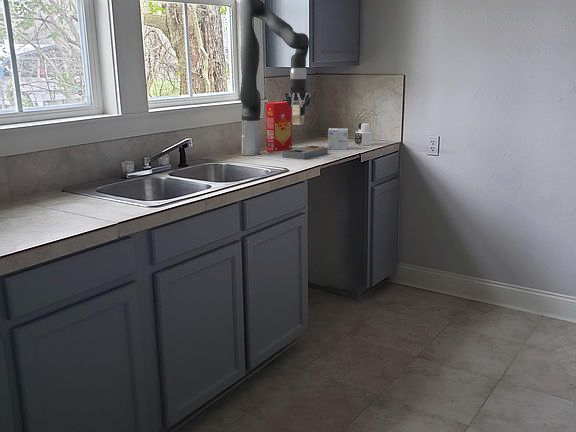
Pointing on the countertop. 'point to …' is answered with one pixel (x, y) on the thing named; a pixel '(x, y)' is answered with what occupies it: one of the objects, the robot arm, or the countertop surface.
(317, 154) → the grey flat block
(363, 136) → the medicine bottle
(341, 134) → the light bulb box
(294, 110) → the peg
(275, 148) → the food packaging
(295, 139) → the countertop surface
